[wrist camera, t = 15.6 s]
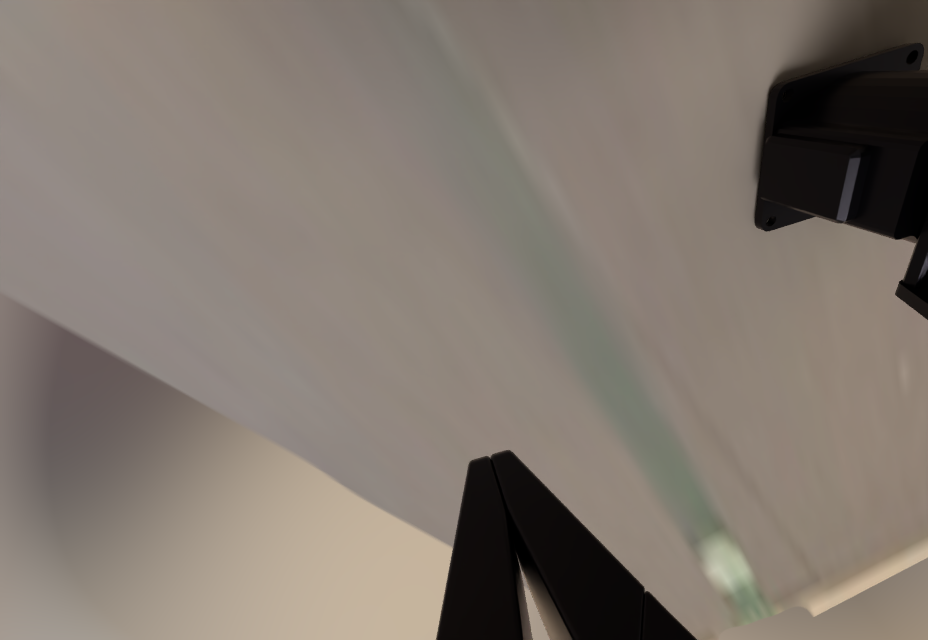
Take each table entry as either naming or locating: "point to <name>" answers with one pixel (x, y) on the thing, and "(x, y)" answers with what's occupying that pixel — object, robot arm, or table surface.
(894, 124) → the robot arm
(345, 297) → the table surface
